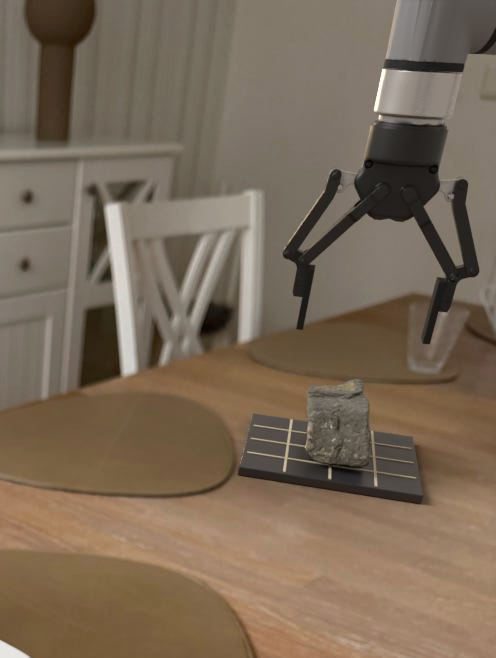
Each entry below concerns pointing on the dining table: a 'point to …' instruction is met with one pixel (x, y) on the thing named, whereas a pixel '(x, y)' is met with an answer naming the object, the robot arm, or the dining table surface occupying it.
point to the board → (299, 468)
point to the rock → (338, 424)
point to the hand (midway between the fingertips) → (361, 334)
